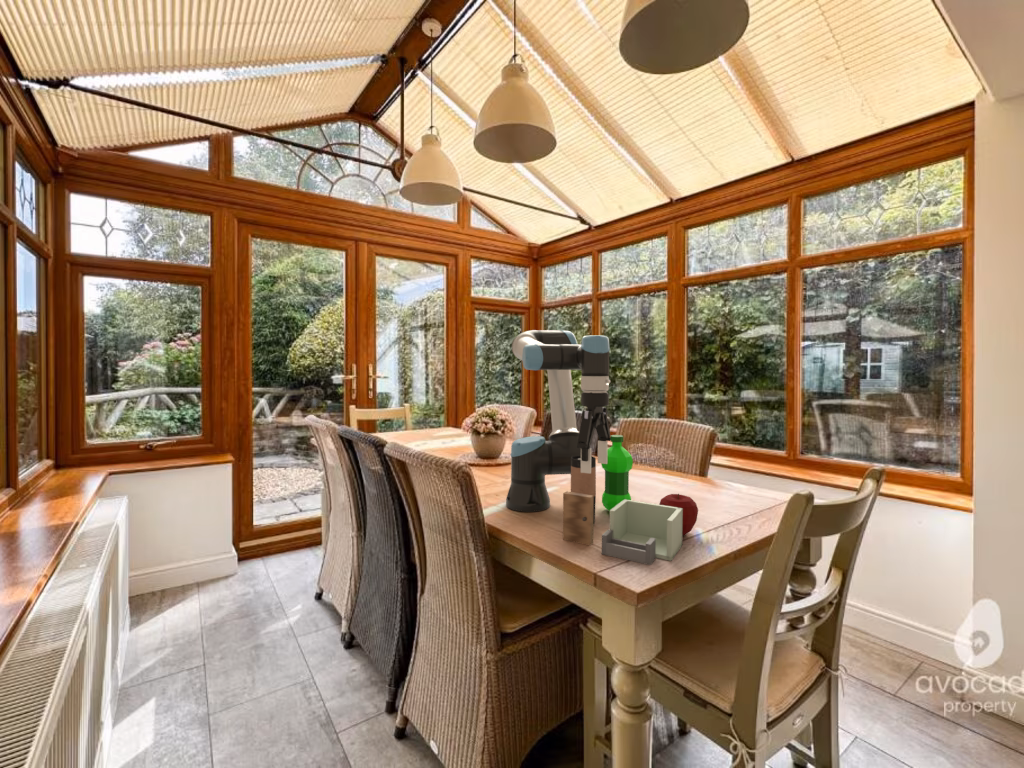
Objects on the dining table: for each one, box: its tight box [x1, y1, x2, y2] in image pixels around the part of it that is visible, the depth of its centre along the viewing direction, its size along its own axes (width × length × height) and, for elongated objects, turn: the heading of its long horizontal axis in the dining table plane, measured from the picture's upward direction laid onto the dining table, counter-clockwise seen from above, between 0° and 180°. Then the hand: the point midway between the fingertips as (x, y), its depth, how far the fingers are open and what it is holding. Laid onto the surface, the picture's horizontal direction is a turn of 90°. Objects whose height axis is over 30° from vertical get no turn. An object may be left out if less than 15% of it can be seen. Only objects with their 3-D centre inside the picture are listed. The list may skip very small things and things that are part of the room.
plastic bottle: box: [600, 434, 634, 513], centre depth 155 cm, size 10×10×25 cm
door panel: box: [562, 490, 594, 546], centre depth 128 cm, size 8×3×13 cm, turn 58°
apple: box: [658, 493, 699, 537], centre depth 134 cm, size 11×11×12 cm
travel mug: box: [570, 455, 597, 525], centre depth 144 cm, size 8×8×20 cm
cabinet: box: [601, 499, 683, 566], centre depth 123 cm, size 16×17×10 cm
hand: (594, 468), depth 130 cm, fingers open, 13 cm apart
